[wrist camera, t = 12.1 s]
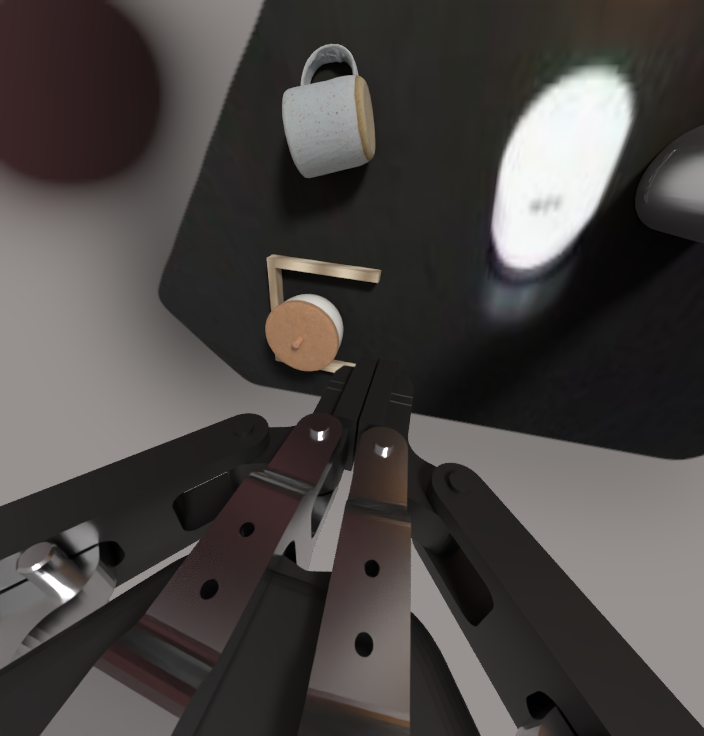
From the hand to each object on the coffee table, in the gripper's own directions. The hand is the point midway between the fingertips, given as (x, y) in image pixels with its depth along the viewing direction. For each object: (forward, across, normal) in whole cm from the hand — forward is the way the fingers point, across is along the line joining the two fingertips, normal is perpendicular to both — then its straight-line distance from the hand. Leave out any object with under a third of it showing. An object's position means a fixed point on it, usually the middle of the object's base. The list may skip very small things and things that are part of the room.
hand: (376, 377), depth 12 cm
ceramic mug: (+32, +12, -11) cm, 36 cm away
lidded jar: (+32, +14, +14) cm, 37 cm away
